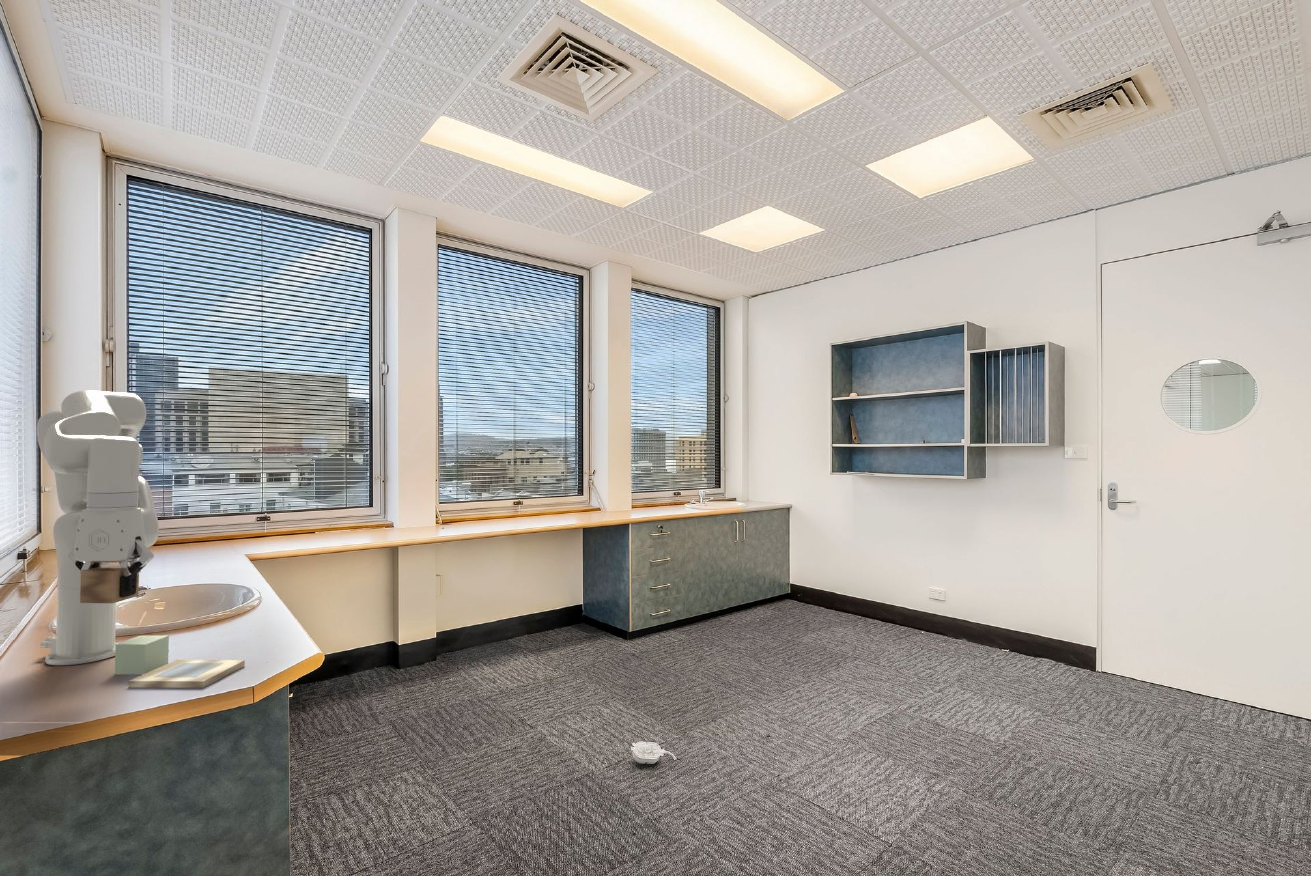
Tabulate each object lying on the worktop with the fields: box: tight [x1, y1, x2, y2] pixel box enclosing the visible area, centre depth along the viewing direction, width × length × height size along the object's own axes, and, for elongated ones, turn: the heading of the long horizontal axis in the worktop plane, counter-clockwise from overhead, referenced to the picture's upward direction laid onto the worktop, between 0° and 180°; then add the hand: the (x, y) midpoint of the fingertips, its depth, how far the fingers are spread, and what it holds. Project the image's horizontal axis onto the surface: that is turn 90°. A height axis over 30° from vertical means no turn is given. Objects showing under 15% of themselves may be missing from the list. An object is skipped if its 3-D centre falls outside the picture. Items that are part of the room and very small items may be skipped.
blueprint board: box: [127, 659, 246, 689], centre depth 124 cm, size 14×12×1 cm
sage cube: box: [114, 635, 170, 675], centre depth 128 cm, size 6×6×6 cm
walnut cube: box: [80, 564, 140, 604], centre depth 120 cm, size 6×6×6 cm
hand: (110, 594), depth 120 cm, fingers closed on walnut cube, 6 cm apart
